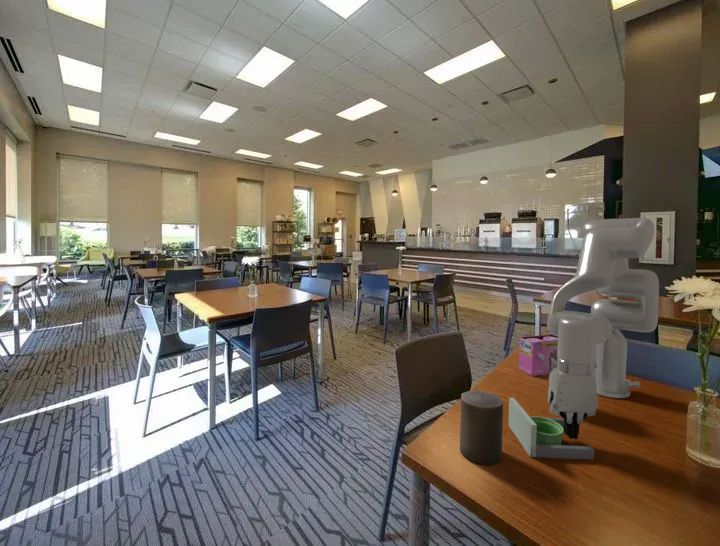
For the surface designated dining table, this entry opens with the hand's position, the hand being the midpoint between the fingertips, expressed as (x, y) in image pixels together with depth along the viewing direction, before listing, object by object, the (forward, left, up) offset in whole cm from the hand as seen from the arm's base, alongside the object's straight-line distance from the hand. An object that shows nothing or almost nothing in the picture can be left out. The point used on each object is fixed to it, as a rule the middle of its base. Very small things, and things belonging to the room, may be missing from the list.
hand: (571, 436), depth 87 cm
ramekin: (+7, 0, -2) cm, 7 cm away
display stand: (+6, 0, -2) cm, 6 cm away
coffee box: (-8, -19, -2) cm, 21 cm away
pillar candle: (+24, +6, -2) cm, 25 cm away
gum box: (-18, -50, -2) cm, 54 cm away
